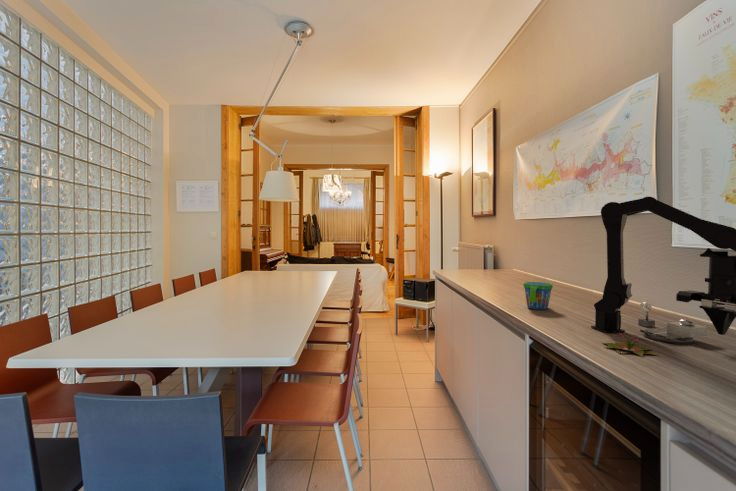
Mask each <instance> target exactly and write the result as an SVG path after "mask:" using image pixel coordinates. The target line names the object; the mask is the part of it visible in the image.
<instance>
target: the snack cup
mask: <svg viewBox="0 0 736 491" xmlns="http://www.w3.org/2000/svg"><path fill="white" fill-rule="evenodd" d="M553 287H554V286H553V283H550V282H543V281H542V282H541V281H525V282H523V288H524V293H525V300H526V306H527V308H529V309H532V310H540V311H544V310H547V309H548V308H549V304H550V299H551V295H552V294H551V293H552V290H553Z"/></svg>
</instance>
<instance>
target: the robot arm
mask: <svg viewBox="0 0 736 491" xmlns="http://www.w3.org/2000/svg"><path fill="white" fill-rule="evenodd" d="M644 212H650V213H652V214H654V215H657V216H659V217H661V218H663V219H665V220H667V221H669V222H672V223H674V224H676V225H678V226H680V227H683V228H685V229H688V230H690V231H691V232H693V233H695V234H696V235H698V236H699V237H700V238H702V239H703V240H704V241H706V242H708V243H709V244H710V245H712V246H714V247H715V248H718V249H721V250H712V249H711V248H710V247H707V248H706V249H705V251H703V252H701V253H699V257H701V258H708V259H709V260H708V277H705V278H704V282H705V283H708V286H707V292H705V291H697V290H679V291H678V292H677V293H676V294H675V301H677V302H683V303H690V302H691V301H695V302H701V304H700V305H698V307H699V309H702V310H703V311H704V312H705V314H706V315H707V317H708V319H710V321H711V323H712V325H713V327H714V328H715V330H716V332H717V334H718V335H721V336H725V335H726V334H727V332H728V331H729V328H730V327H731V325H732V324H733V322H734V320H736V255H732V254H729V251H728V250H729V249H730V250H732V251H733V252H736V228H735V227H732V226H729V225H725V224H721V223H717V222H713V221H709V220H706V219H702V218H699V217H698V216H695V215H693V214H690V213H689V212H685V211H683V210H681V209H679V208H676V207H675V206H672V205H669V204H667V203H664V202H662V201H660V200H658V199H657V198H655V197H653V196H644V197H642V198H638V199H633V200H628V201H624V202H616V201H609V202H607V203H605V204H604V205H603V206H602V207H601V209H600V215H601V219H602V223H603V227H604V229H605V231H606V260H607V261H606V267H607V278H606V282H605V285H604V286H603V287H604V288H603V293H602V298H601V299H599V300H598V301H596V303H594V304H593V306H594V309H595V314H594V315H595V324H594V325H591V326H590V328H592V329H595V330H598V331H601V332H604V333H608V334H610V333H619V332H620V333H622V332H623V333H624V332H625V333H626V330H625V329H623V328H622V315H621V313H622V312H621V310H620V309H621V308H622V307H623V306H624V305H626V304H628V303H629V300H630V298H632V297H633V294H632V291H631V290H632V283H631V282H629V283H627V282H626V279H625V269H624V266H625V265H624V264H625V263H624V260H625V259H624V229H625V228H626V223H627V219H628V217H629V216H635V215H637V214H641V213H644Z"/></svg>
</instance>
